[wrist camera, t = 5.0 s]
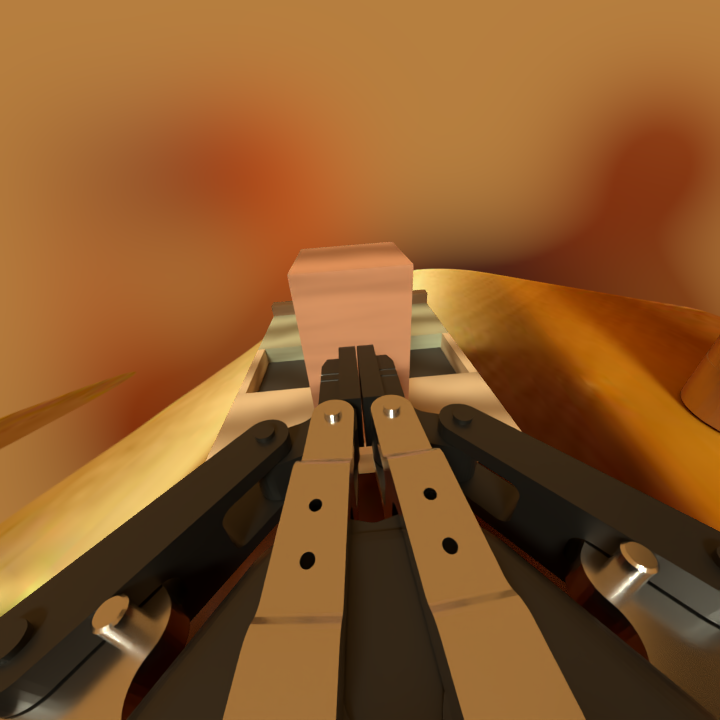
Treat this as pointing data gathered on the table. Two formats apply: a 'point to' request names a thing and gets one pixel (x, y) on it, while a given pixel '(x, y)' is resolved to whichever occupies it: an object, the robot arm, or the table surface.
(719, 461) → the table surface
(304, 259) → the block
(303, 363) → the trap box
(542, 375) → the table surface
